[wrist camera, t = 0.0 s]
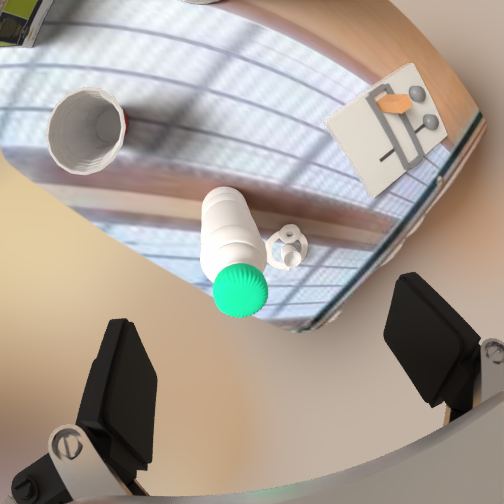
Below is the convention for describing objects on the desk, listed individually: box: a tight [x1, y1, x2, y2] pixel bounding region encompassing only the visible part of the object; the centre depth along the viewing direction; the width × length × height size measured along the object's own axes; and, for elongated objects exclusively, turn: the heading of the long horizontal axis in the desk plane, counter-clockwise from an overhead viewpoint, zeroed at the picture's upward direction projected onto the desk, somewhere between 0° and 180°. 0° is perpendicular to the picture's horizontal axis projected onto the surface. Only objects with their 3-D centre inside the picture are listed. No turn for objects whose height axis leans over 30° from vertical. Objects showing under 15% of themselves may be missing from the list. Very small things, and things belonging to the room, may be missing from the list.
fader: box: [376, 94, 413, 114], centre depth 36 cm, size 2×3×6 cm
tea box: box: [0, 0, 53, 48], centre depth 16 cm, size 15×10×15 cm, turn 158°
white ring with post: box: [265, 224, 308, 271], centre depth 49 cm, size 9×8×4 cm
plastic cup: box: [46, 87, 129, 175], centre depth 32 cm, size 11×11×12 cm
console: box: [322, 63, 447, 198], centre depth 41 cm, size 16×22×4 cm
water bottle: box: [200, 187, 268, 318], centre depth 35 cm, size 7×7×25 cm
